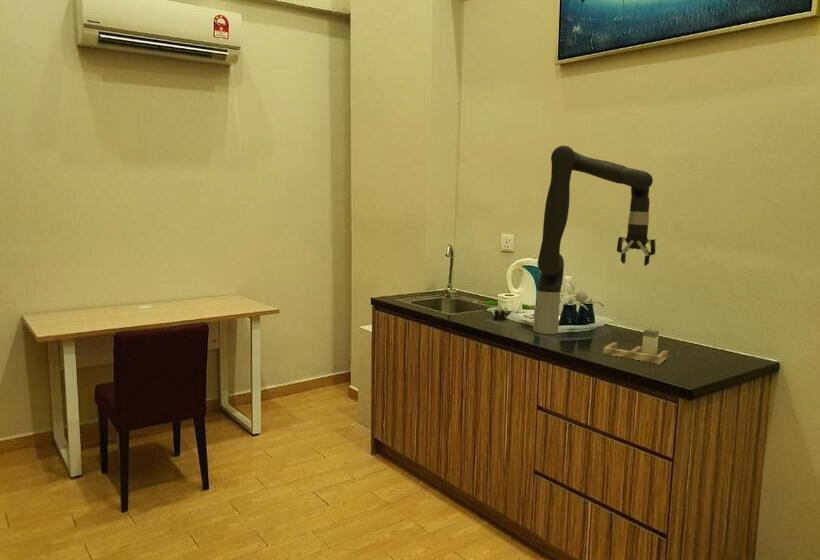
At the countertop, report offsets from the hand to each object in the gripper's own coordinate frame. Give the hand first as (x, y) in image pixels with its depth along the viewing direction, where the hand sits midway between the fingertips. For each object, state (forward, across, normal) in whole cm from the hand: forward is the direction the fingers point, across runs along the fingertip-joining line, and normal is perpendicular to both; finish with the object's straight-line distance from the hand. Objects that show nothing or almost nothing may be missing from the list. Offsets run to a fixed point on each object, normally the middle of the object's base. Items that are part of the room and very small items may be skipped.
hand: (634, 264), depth 253 cm
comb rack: (+30, +10, -26) cm, 41 cm away
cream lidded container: (+30, +14, -26) cm, 42 cm away
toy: (+30, -25, +13) cm, 41 cm away
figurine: (+31, -60, +10) cm, 68 cm away
